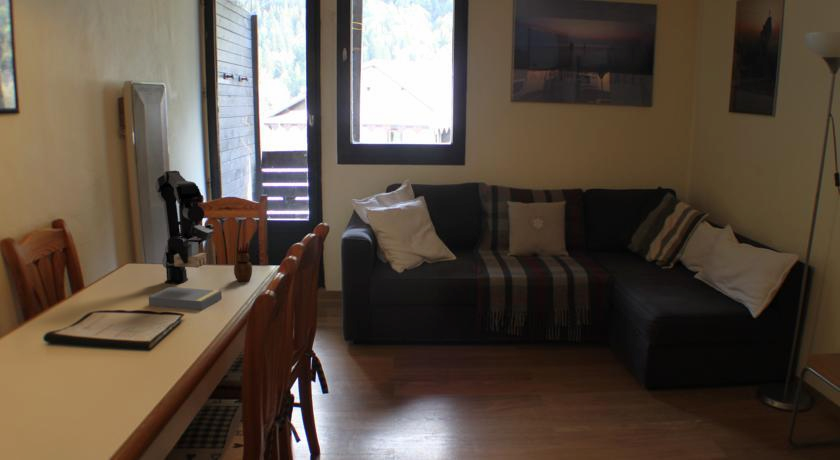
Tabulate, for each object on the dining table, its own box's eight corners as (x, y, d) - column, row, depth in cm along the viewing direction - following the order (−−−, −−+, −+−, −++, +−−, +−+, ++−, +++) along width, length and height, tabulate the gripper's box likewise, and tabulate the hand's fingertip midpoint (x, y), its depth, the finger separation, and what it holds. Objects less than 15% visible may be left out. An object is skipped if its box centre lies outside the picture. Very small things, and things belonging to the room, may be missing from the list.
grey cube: (181, 255, 241) (180, 244, 241) (187, 252, 246) (187, 241, 245) (192, 255, 241) (191, 244, 240) (198, 253, 245) (198, 242, 244)
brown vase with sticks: (254, 279, 268) (253, 241, 265) (249, 282, 262) (248, 244, 259) (237, 278, 268) (236, 241, 266) (232, 282, 263) (230, 244, 260)
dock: (149, 305, 233) (148, 296, 232) (170, 294, 245) (170, 286, 245) (202, 310, 228) (201, 300, 228) (221, 299, 241) (221, 290, 240)
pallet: (174, 266, 242) (173, 255, 241) (183, 262, 248) (183, 251, 247) (197, 267, 240) (197, 256, 239) (206, 263, 246) (205, 253, 245)
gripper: (194, 223, 230) (197, 268, 233) (221, 215, 248) (223, 257, 251) (165, 222, 232) (167, 266, 235) (193, 213, 250) (196, 255, 253)
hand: (190, 261), depth 244 cm, fingers closed on pallet, 6 cm apart
